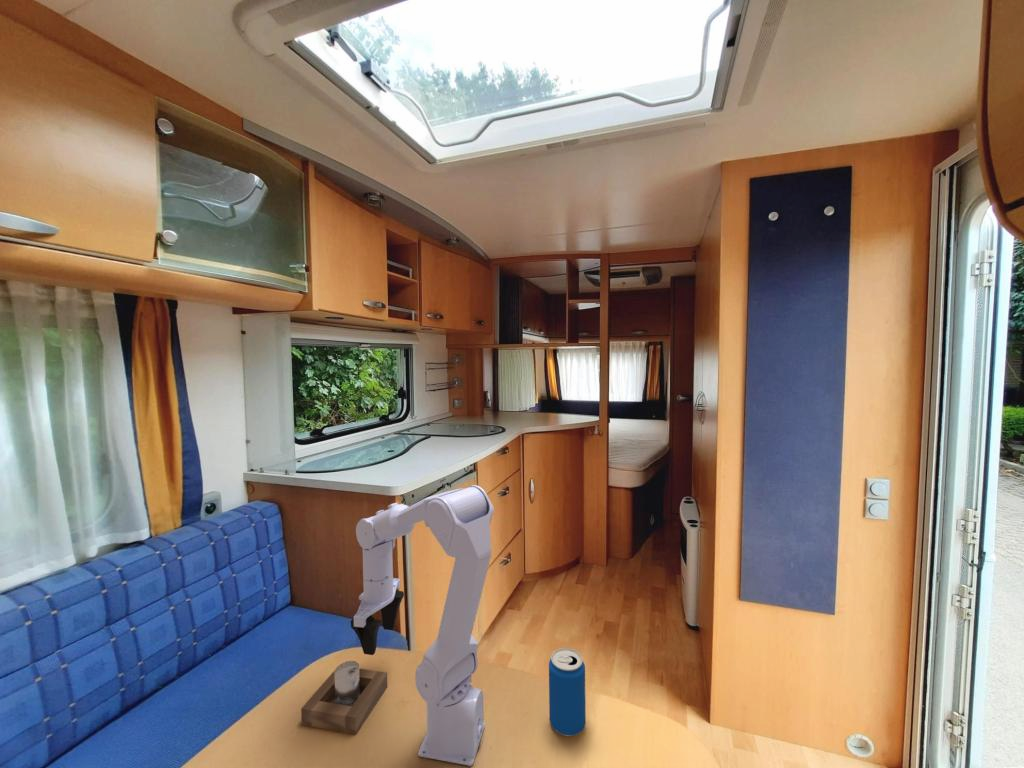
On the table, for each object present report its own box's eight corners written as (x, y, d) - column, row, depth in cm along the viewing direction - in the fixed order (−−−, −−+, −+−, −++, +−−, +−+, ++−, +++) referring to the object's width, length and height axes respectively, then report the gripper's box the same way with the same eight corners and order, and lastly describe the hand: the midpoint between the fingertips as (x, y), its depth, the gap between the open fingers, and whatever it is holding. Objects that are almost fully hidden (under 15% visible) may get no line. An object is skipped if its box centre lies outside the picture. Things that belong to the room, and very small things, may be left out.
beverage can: (585, 742, 69) (584, 673, 68) (547, 736, 70) (546, 668, 70) (586, 711, 75) (585, 648, 75) (551, 706, 76) (550, 644, 76)
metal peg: (364, 696, 79) (363, 661, 79) (352, 715, 75) (351, 678, 75) (343, 694, 80) (342, 660, 80) (330, 713, 76) (329, 676, 75)
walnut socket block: (387, 687, 82) (387, 672, 82) (356, 734, 71) (355, 717, 71) (339, 679, 84) (338, 665, 84) (301, 724, 73) (301, 708, 73)
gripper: (378, 557, 89) (380, 617, 90) (338, 591, 75) (340, 663, 76) (408, 559, 88) (409, 620, 88) (372, 595, 74) (374, 667, 74)
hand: (379, 640), depth 82 cm, fingers open, 7 cm apart
